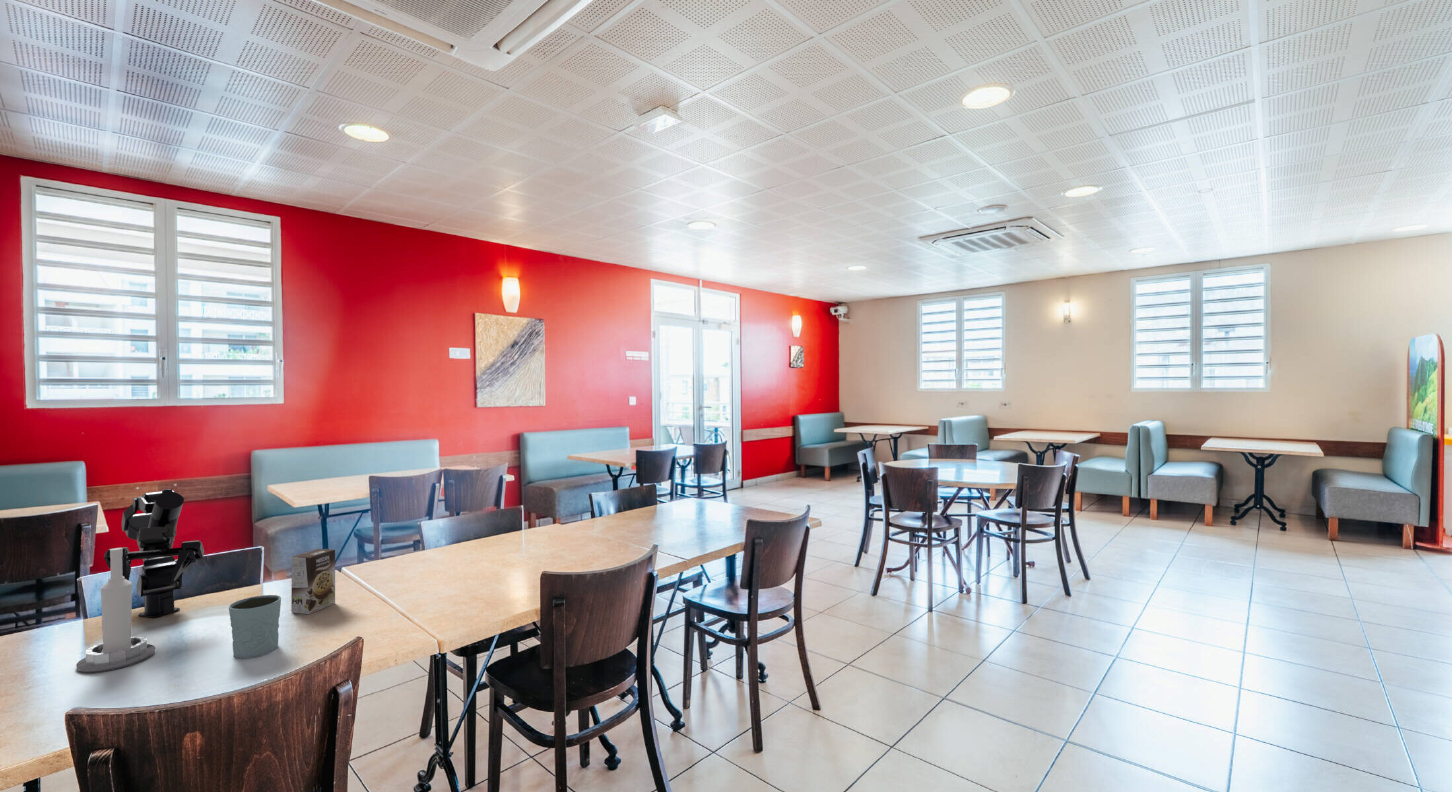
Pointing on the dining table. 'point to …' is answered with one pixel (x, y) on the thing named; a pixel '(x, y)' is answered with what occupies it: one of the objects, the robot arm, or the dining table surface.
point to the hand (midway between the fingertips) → (149, 583)
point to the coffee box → (313, 581)
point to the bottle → (116, 607)
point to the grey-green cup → (255, 625)
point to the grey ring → (115, 657)
